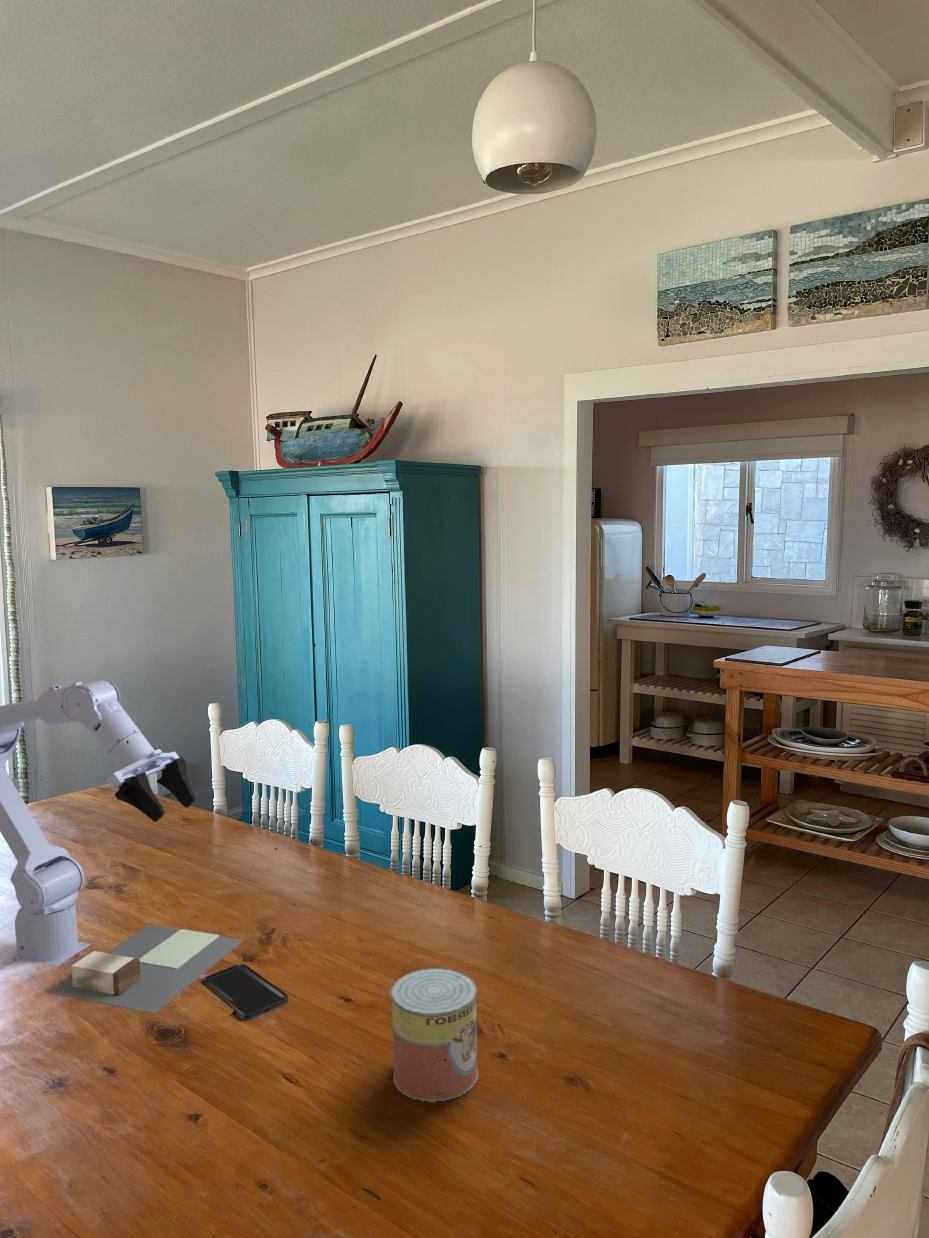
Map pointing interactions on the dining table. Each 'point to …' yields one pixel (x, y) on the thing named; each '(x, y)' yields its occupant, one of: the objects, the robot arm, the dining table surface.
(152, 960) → the pad
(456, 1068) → the canned food
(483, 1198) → the dining table surface
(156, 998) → the mat
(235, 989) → the phone
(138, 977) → the card box
